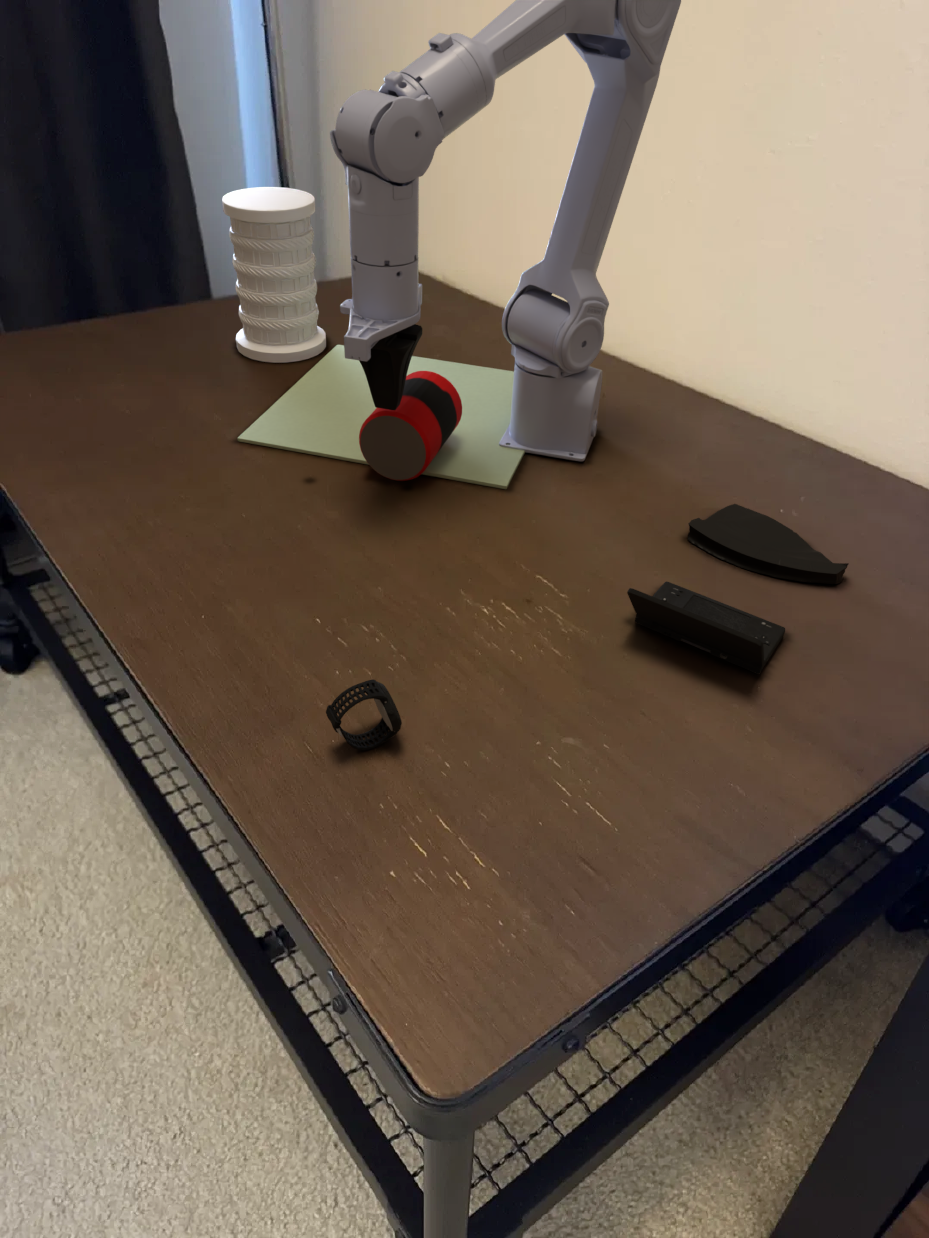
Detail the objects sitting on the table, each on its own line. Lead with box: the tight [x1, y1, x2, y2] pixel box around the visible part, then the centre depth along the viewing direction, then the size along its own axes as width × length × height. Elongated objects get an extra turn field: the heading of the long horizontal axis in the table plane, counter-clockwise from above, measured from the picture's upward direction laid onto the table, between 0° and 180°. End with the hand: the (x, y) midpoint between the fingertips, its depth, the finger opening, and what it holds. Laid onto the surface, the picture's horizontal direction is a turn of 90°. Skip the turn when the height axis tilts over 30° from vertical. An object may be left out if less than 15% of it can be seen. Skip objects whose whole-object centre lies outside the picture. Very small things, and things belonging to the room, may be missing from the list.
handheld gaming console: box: [626, 581, 786, 675], centre depth 72 cm, size 12×7×10 cm
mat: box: [236, 344, 526, 490], centre depth 105 cm, size 30×28×1 cm
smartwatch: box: [325, 678, 403, 751], centre depth 63 cm, size 4×5×5 cm
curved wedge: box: [686, 503, 850, 585], centre depth 84 cm, size 8×14×2 cm, turn 41°
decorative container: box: [221, 186, 327, 364], centre depth 113 cm, size 12×12×18 cm
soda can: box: [359, 371, 462, 482], centre depth 94 cm, size 8×8×12 cm
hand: (387, 406), depth 85 cm, fingers closed
